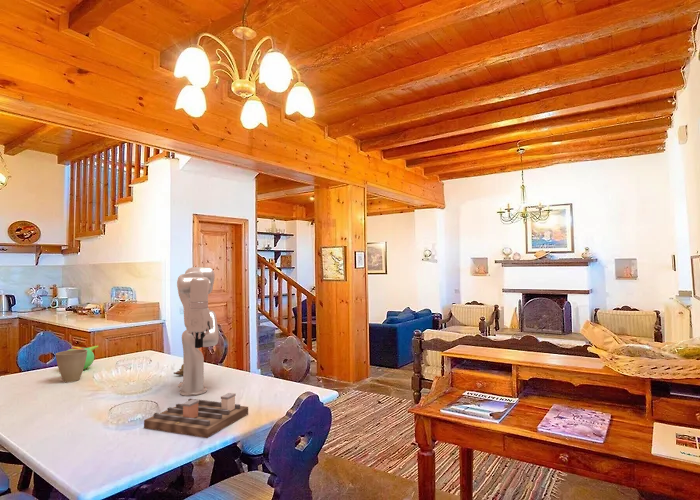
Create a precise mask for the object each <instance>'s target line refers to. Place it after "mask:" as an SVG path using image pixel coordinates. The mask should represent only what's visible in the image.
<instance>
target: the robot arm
mask: <svg viewBox="0 0 700 500" xmlns="http://www.w3.org/2000/svg"><path fill="white" fill-rule="evenodd" d="M176 281H177V282H176V286H177V292H178V293H177V294H178V297H179V299H180V302H181V304H182V307H183V323H184V327H185V330H184V331H183V332H182V334H181V342H182V344H181V345H182V352H183V363H182V365H183V375H182V376H183V377H182V379H183V382H180V383H179V384H178V385H177V388H180V390H179V395H182V396H183V397H185V396H186V397H192V396H193V397H194V396H200V395H203V394H205V393H206V392H207V390H208V389H207V387H205V386H204V384H205V383H204V381H205V379H204V378H205V377H204V374H205V373H204V371H205V369H204V367H205V365H204V363H205V361H204V360H205V359H204V354H203V352H202V351H201V350H200V348H208V347H209V348H210V347H215V346H217V345H218V343H219V336H220V335H219V328H218V327H219V326H218V319H217V314H216V312H215V311H214V310H210V308H209V295H210V294H212V292H213V289H214V283H215V271H214V269H213V268H212V267H210V266H207V267H206V266H205V267H204V266H203V267H202V266H201V267H200V266H193V267H189V268H188V269H186V271H185V273H183V274H180V275H179V276H178V277H177V280H176Z"/></svg>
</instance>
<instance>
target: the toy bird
mask: <svg viewBox="0 0 700 500" xmlns="http://www.w3.org/2000/svg"><path fill="white" fill-rule="evenodd" d="M97 348H99V345H93V346H89V347H84V346H82V347H81V346H72V348H70V349H67V350H66V351H69V350H87V357H86V361H85V365H84V369H83V370H85V369H87V368H89V367H90V366H91V365H92V364H93V363H94V361H95V354H94V352H93V351H94V350H95V349H97Z"/></svg>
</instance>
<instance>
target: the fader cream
mask: <svg viewBox="0 0 700 500" xmlns="http://www.w3.org/2000/svg"><path fill="white" fill-rule="evenodd" d="M220 400H221V401H220V402H221V409H225V410H230V411H231V410H233V409H235V404H236V393H233V392H228V393H225V394H224V395H221V396H220Z"/></svg>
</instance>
